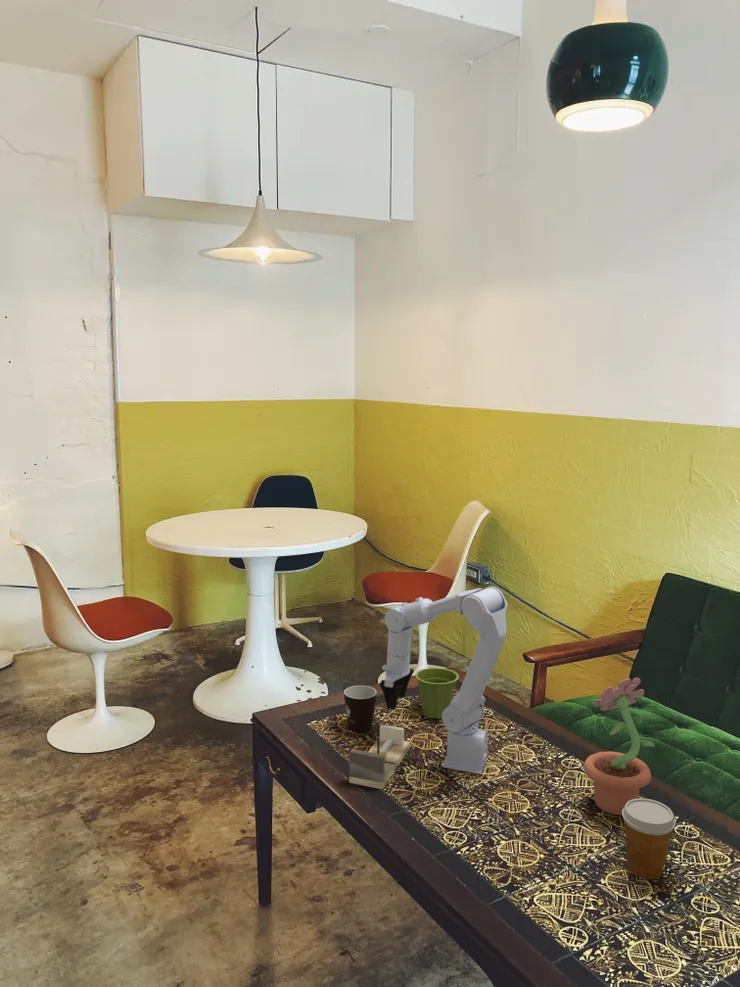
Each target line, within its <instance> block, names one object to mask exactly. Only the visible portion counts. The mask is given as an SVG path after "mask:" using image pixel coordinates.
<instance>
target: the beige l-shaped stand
mask: <svg viewBox="0 0 740 987" xmlns="http://www.w3.org/2000/svg"><path fill="white" fill-rule="evenodd" d="M384 744H385V742H381V741H380V749H381V748H382V746H383V745H384ZM410 748H411V741H408V740H404V744H403V745H398V744H392V746H391V747H390V748H389V750H388V751H387V762H393V763H395V764H390V763H385V755H382V754H376V753H371V752H372V750H375V751H377V740H376V741H375V743H373V745H372V746H371V747H370V749H369V751H365V750H359V749H355V748H354V749H353V748H351V749H350V751H349V753H348V754H349V755H348V756H349V760H348V762H349V766H348V768H349V770H348V772H349V775H348V777H349V779H348V781H349V784H355V785H360V786H364V787H369V788H374V789H379V790H383V789H384V787H385V786H386V784H387V783H388V781H389V780H390V778H391V777H392V776H393V774H394V772H395V771H396V770H397V768H398V766H399V765H400V763H401V762H402V760H403V758H404V757H405V756H406V754H407V753H408V751H409V750H410ZM380 749H379V750H380Z"/></svg>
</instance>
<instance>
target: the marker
mask: <svg viewBox="0 0 740 987" xmlns="http://www.w3.org/2000/svg"><path fill="white" fill-rule="evenodd" d="M376 741H377V751H375V750H372V752H371V753H376V754H382V755H385V763H390V764H395V763H393V762H387V753H386V752H381V751H379V749H380V736H377V740H376Z"/></svg>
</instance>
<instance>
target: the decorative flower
mask: <svg viewBox="0 0 740 987" xmlns="http://www.w3.org/2000/svg"><path fill="white" fill-rule="evenodd" d="M641 682H642V681H641V679H640V677H634V678H633V679H631V678H625V679H623V680H621V681H620V682H618V683H617V688H615V689H614V688H613V687H611V686H609V687H607V688H605V689H604V690H603V691H602V693H601V694H600V695H599V696H600V699H598V698H597V699H595V700H594V702H593V706H594V707H595V708H597V707H600V708H599V710H600V711H603V712H606V711H612V710H616V709H619V710H620V714H621V716H622V719H623V721H622V722H619V723H618V724H617V725H615V726H614V728H612V730H610V733H609V736H613V735H616V734H617V733H618V734H619V732H620V731H622V730H623V728H624V726H625V727H626V728H627V732H628V733H629V737H630V742H631V744H630V748H629V751H628V752H627V753H623V752H618V751H617V752H616V751H598V752H596V753H593V754H590V755H588V756H587V758H586V760H585V761H584V765H583V771H584V774H585V775H586V777H588V778H589V780H591V781H593V794H594V796H593V797H594V798H593V799H594V803H595V804H596V806H597V807H598V808H599V809H600V810H601V811H603V812H605V813H607V814H611V815H615V816H622V810H623V808H624V807H625V805H626V803H627V802H628V801H630V800H632V799H638V798H639V796H640V789H641V788H645V787H647V785H649V783H650V782H651V780H652V774H651V769H650V768H649V766H648V764H646V763H645V762H644V761H643V760H641V759H639V758H638V757H637V756H638V755H639V751H640V747H641V745H642V746H644V747H650V748H652V747H656V745H655V743H654V742H653V741H652V740H648V739H640V735H639V733H638V730H637V728H636V725H635V723H634V720H633V717H632V714H631V712H630V709H629V706H630V705H634V704H635V703H637V699H636V697H640V698H641V697H643V696H644V694H645V690H644V689H642V688H641V689H636V688H637V687H638V686H639V685H640V684H641ZM635 689H636V690H635Z"/></svg>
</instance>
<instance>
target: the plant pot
mask: <svg viewBox="0 0 740 987" xmlns="http://www.w3.org/2000/svg"><path fill="white" fill-rule="evenodd" d="M414 676H415V678H416V679H417V683H418V688H419V694H420V699H421V700H420V701H421V708H422V713H423V716H424V717H426V718H427V719H428V718H429V719H437V720H442V713H443V711H444V709H445V708H447V707H448V706H449V705H450V703H451V701H452V699H453V698H454V697H453V696H454V691H455V688H456V685H457V681H458V679H459V677H460V676H459V674H458V673H457V671H454V670H452V669H448V668H444V667H425V668H422V669H420V670H418V671H417V672H415V675H414Z"/></svg>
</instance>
